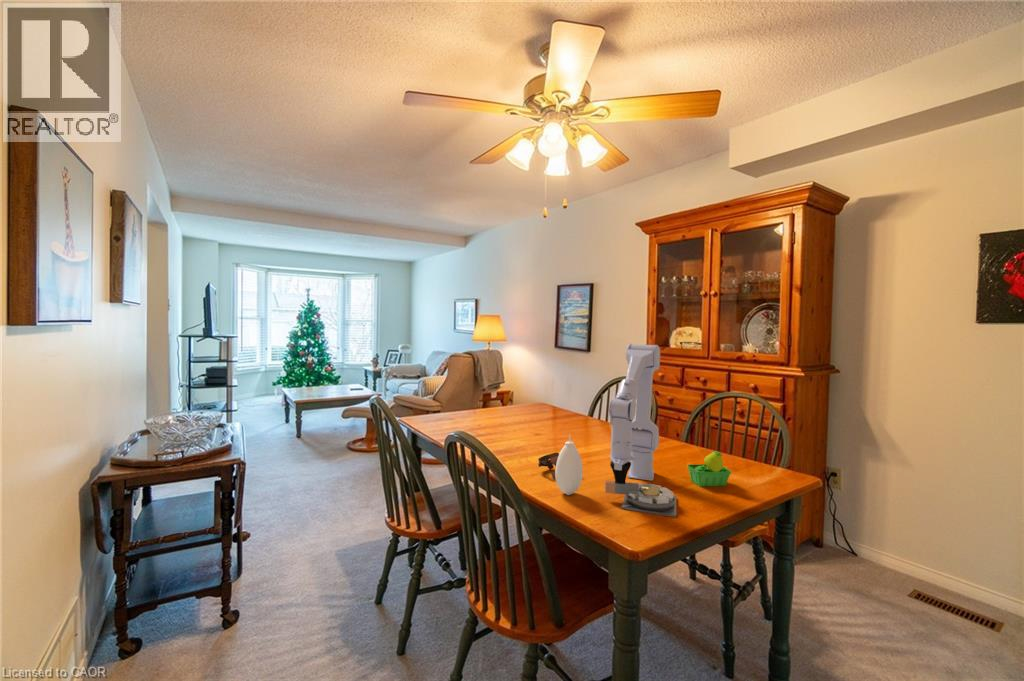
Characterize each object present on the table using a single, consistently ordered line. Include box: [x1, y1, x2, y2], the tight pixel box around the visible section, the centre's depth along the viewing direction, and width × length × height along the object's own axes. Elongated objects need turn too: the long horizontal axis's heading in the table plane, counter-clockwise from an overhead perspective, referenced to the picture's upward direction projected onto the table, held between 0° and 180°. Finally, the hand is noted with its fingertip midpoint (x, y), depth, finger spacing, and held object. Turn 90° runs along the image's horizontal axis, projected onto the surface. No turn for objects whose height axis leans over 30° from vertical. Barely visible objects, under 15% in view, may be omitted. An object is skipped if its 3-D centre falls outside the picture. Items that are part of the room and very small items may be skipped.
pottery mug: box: [538, 451, 560, 480], centre depth 152 cm, size 12×10×8 cm
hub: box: [621, 483, 677, 518], centre depth 128 cm, size 14×14×5 cm
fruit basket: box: [686, 450, 732, 487], centre depth 145 cm, size 11×9×11 cm
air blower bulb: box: [554, 434, 583, 496], centre depth 134 cm, size 8×8×18 cm
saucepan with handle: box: [604, 480, 675, 504], centre depth 127 cm, size 12×18×3 cm
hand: (619, 487), depth 131 cm, fingers closed
